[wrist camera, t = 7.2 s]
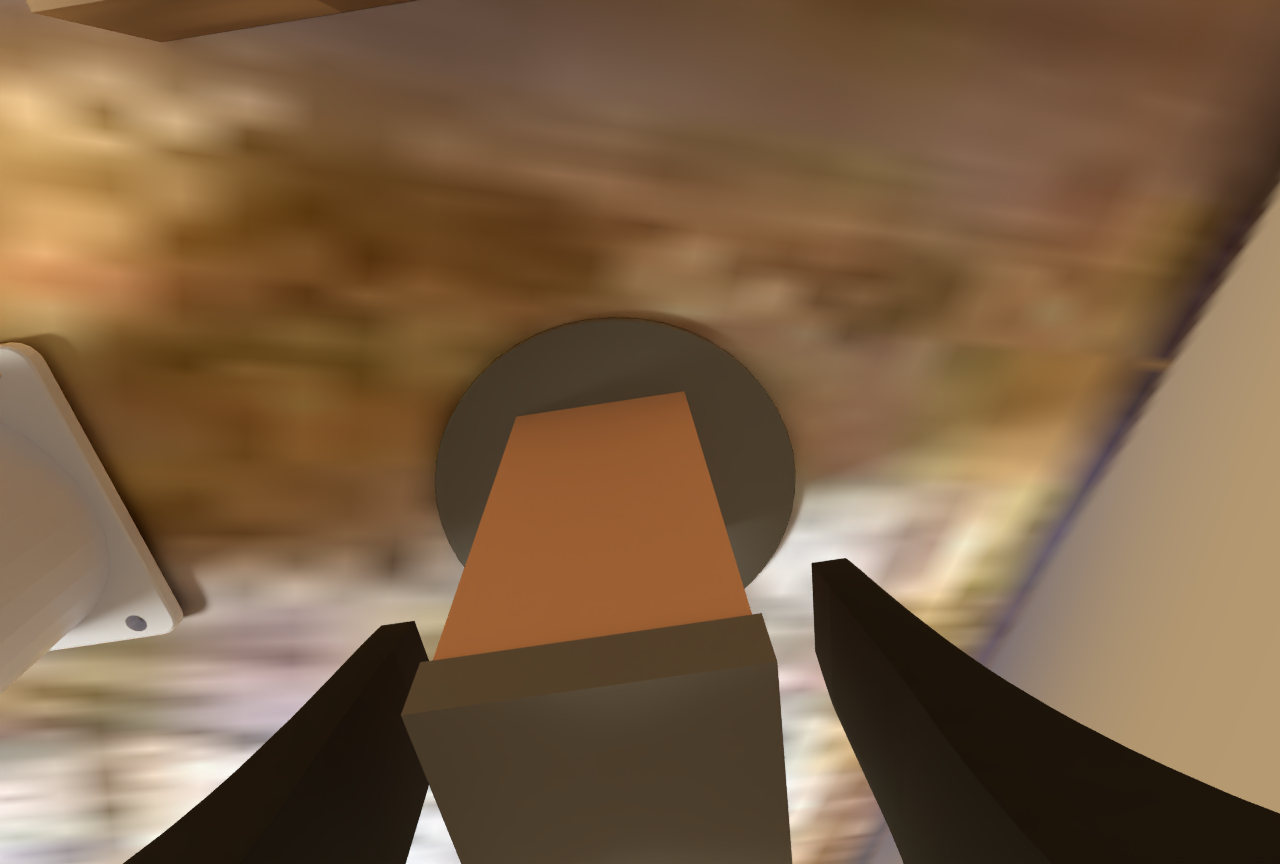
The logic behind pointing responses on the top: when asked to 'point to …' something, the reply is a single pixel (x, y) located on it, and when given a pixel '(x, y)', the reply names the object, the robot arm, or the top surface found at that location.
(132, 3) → the tan square socket
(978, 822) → the robot arm
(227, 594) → the top surface
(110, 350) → the top surface
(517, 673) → the plug
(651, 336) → the coaster
